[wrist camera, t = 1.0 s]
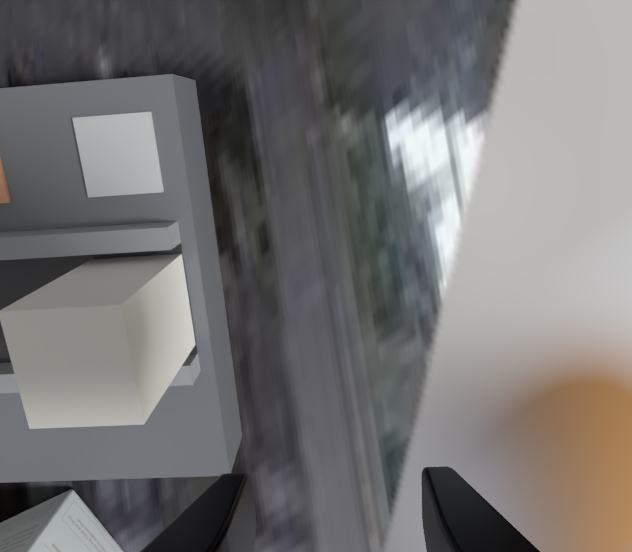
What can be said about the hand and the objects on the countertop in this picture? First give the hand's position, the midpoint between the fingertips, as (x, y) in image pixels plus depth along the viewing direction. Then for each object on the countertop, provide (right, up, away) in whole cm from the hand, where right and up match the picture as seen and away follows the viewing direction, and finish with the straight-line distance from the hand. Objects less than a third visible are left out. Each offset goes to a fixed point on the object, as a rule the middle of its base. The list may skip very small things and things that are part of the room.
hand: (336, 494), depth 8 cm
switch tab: (-6, +2, +9) cm, 11 cm away
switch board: (-8, +3, +12) cm, 15 cm away
